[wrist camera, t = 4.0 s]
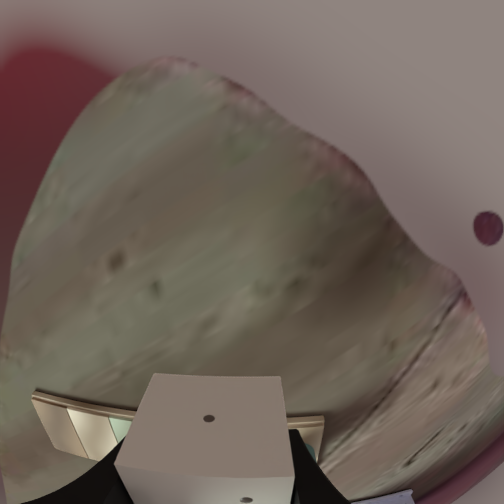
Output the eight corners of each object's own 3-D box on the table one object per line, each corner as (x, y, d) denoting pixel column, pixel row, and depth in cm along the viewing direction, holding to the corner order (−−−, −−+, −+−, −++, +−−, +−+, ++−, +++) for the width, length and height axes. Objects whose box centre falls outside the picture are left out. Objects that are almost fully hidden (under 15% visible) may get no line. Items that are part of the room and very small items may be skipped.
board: (323, 415, 20) (325, 423, 19) (312, 469, 22) (314, 476, 21) (34, 390, 20) (29, 396, 19) (59, 444, 22) (56, 450, 21)
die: (280, 375, 12) (295, 476, 7) (275, 455, 13) (282, 541, 8) (153, 371, 12) (112, 463, 7) (171, 452, 13) (151, 533, 8)
